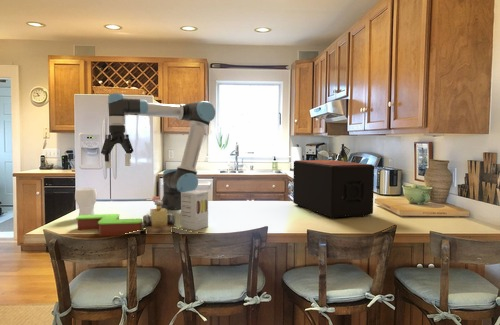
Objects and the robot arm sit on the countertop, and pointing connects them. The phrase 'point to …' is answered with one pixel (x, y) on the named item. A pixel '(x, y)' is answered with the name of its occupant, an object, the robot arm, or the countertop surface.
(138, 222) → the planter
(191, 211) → the supplement box
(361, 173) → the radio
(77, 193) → the cup
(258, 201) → the countertop surface
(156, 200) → the lever
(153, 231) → the board
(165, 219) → the valve
